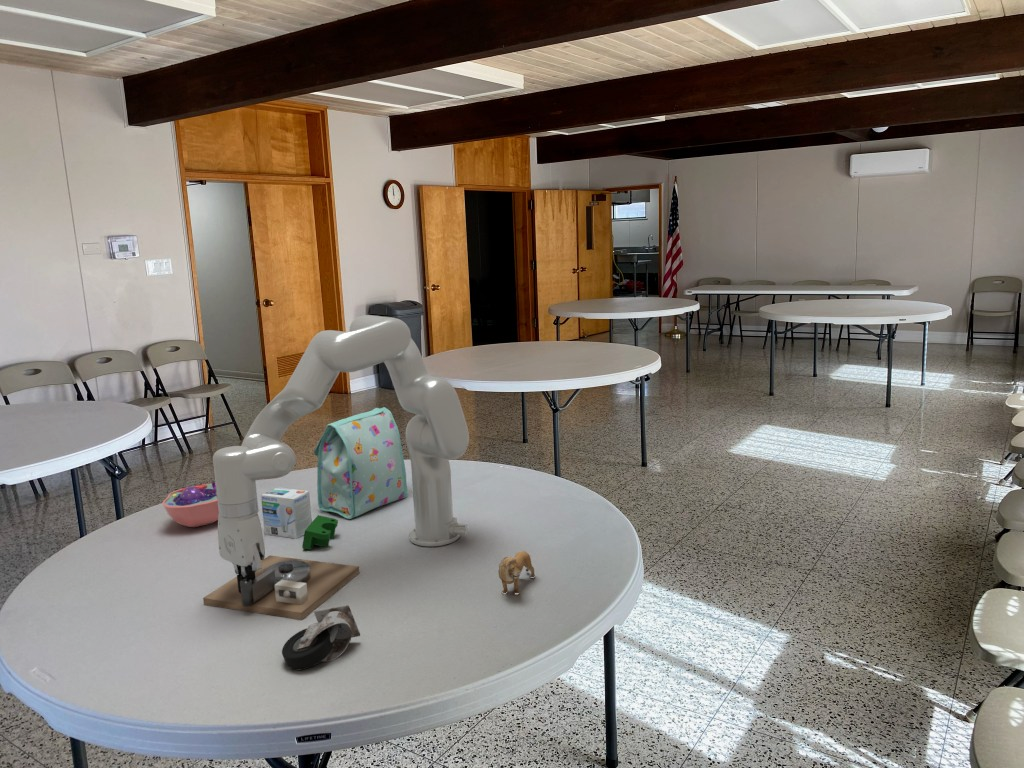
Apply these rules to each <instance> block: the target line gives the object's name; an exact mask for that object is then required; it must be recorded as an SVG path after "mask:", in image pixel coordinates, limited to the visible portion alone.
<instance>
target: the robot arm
mask: <svg viewBox="0 0 1024 768" xmlns="http://www.w3.org/2000/svg"><path fill="white" fill-rule="evenodd" d="M382 363H384V365H385V367H386V369H387V371H388V374H389V376H390V379H391V382H392V386H393V388H394V391H395V394H396V397H397V399H398V402H399V405H400V406H401V408H402V409H403V410H405V411H406V412H408V413H411V414H414V416H413V417H412V418H410V419H409V420H408V422H407V425H406V428H405V432H404V433H405V441H406V445H407V446H406V447H407V450H408V454H409V459H410V467H411V477H412V478H411V482H412V483H411V484H412V497H413V513H414V514H413V515H414V528H413V530H411V532H409V541H410V542H411V543H412V544H415V545H417V546H420V547H440V546H446V545H449V544H452V543H454V542H455V541H457V540H458V539H460V536H467V535H468V534H469V528H468V525H467V524H463V523H461V524H459V523H458V519H457V517H454V514H453V513H454V512H453V511H454V510H453V494H452V493H453V492H452V474H451V473H452V471H451V464H450V461H449V460H456V459H459V458H460V457H462V456H463V455H465V453H466V451H467V449H468V447H469V443H470V432H469V428H468V424H467V421H466V417H465V414H464V411H463V408H462V407H463V406H462V404H461V402H460V398H459V395H458V393H457V391H456V389H455V388H454V386H453V384H452V383H450V382H449V381H448V380H446V379H444V378H441V377H438V376H432V375H431V374H430V373H429V372H428V370H427V367H426V364H425V361H424V359H423V356H422V354H421V352H420V349H419V348H418V345H417V344H416V343H415V341H414V340H413V338H412V335H411V329H410V328H409V326H408V324H406V323H405V321H403V320H401V319H399V318H396V317H391V316H380V315H372V314H370V315H369V314H364V315H360V316H358V317H356V318H354V319H353V320H352V322H351V323H350V325H349V331H340V330H332V329H328V330H321V331H320V332H318V333H316V334H315V335H314V336H313V337H312V339H311V341H310V342H309V344H308V345H307V347H306V349H305V351H304V352H303V354H302V356H301V358H300V360H299V362H298V364H297V366H296V367H295V369H294V371H293V372H292V374H291V375H290V378H289V379H288V381H287V383H286V384H285V385H284V388H283V389H282V390H281V391H280V392H279V393H277V394H276V395H275V396H274V397H273V399H272V400H271V401H269V403H267V404H266V405H265V407H264V408H263V409H262V410H261V411H260V412H259V413H258V414H257V416H256V417H255V419H254V420H253V422H252V423H251V425H250V427H249V429H248V430H247V432H246V435H245V436H244V438H243V440H242V443H241V445H232V446H226V447H222V448H220V449H218V450H216V451H215V452H214V454H213V456H212V465H213V472H214V482H215V483H216V491H217V500H218V508H219V517H218V520H217V538H218V539H217V540H218V550H219V551H218V552H219V556H220V558H221V559H223V560H225V561H227V562H229V563H232V565H233V569H234V573H235V574H236V577H237V582H238V591H239V593H241V587H240V581H241V580H243V579H246V578H250V579H251V580H253V579H255V572H256V571H257V570H259V569H262V563H261V561H262V560H263V559H265V558H266V548H265V541H264V534H263V533H264V532H263V529H262V525H261V520H260V516H259V503H258V494H257V483H256V481H259V480H260V481H262V480H272V479H273V480H274V479H279V478H283V477H286V476H287V475H288V474H290V473H291V472H292V471H293V469H294V468H295V465H296V460H297V457H296V454H295V452H294V450H293V449H292V448H291V447H290V446H289V445H287V444H286V443H284V442H281V439H282V437H283V436H284V434H285V433H286V432H287V430H288V429H289V427H290V426H291V425H293V424H294V422H296V421H297V420H299V419H300V418H302V417H305V416H306V415H309V414H311V413H313V412H314V411H316V410H318V409H320V408H321V407H322V406H323V404H324V402H325V400H326V398H327V396H328V395H329V392H330V390H331V389H332V387H333V385H334V384H335V382H336V380H337V378H338V376H339V374H340V372H341V373H355V372H359V371H362V370H365V369H368V368H371V367H374V366H376V365H378V364H382Z"/></svg>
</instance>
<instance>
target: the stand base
mask: <svg viewBox="0 0 1024 768" xmlns="http://www.w3.org/2000/svg"><path fill="white" fill-rule="evenodd" d="M292 560H297V561H304V562H306V563H308V564H309V566H310V574H311V576H310V578H309V580H307V581H306V582H305V583H302V582H295V581H287V580H281V581H279V582H278V583H276V584H275V589H273V590H271V591H270V592H268V593H267V594H265V595H264V596H262V597H261V598H260V599H258V600H257V601H255V602H254V604H253V605H251V606H247V607H246V606H243V605H242V596H241V593H239V591H238V582H237V576H235V577H234V578H232V579H231V580H229V581H228V582H225V584H222V585H221V586H220V587H218V588H216V589H214V590H213V591H211V592H210V593H209V594H207V595H205V596H204V597H203V598H202V600H203V601H202V602H203V605H204V606H211V607H215V608H216V607H218V608H224V609H230V610H231V609H232V610H237V611H244V612H249V613H255V614H256V613H257V614H263V615H269V616H275V617H276V616H277V617H281V618H286V619H287V618H289V619H295V620H300V621H302V620H303V619H305V618H306V617H308V616H309V615H310V614H311V613H312V612H314V610H315V611H316V609H317V608H318V607H320V606H321V605H322V604H323V603H324V602H325V601H327V600H328V599H329V598H330V597H332V596H333V595H335V593H336V592H338V591H339V590H341V588H343V587H344V586H345V585H347V584H348V583H349V582H350V581H352V579H354V578H355V577H356V576H357V575H359V574H360V566H359V565H358V566H357V565H350V564H343V563H335V562H324V561H317V560H309V559H301V558H293V557H286V556H285V557H284V556H278V555H268V556H267V557H266V556H265V558H264V559H263V560H261V563H262V569H259V570H257V571H256V572H255V578H257V577H258V576H260V575H261V574H262V572H263V570H264V569H266V568H267V567H269V566H271V565H273V564H276V563H279V562H284V561H292Z"/></svg>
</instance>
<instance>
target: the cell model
mask: <svg viewBox="0 0 1024 768" xmlns="http://www.w3.org/2000/svg"><path fill="white" fill-rule="evenodd" d="M161 504H162V506H163V509H165V512H166V514H167V516H169V517H170V518H171V519H172V520H173V521H175V522H176V523H177V524H179V525H181V526H185V527H187V528H198V527H203V526H207V525H210V524H213V523H215V522H218V517H219V508H218V500H217V491H216V483H215V481H214V482H210V483H203V484H199V485H193V486H187V487H183V488H180V489H177V490H174V491H171V492H169V493H168V495H167V497H166V498H165V499H164V500H163V501H162V503H161Z"/></svg>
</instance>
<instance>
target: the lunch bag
mask: <svg viewBox="0 0 1024 768" xmlns="http://www.w3.org/2000/svg"><path fill="white" fill-rule="evenodd" d="M402 447H403V446H402V441H401V435H400V431H399V427H398V425H397V423H396V421H395V418H394V416H393V414H392V411H390V410H389V409H388V408H386V407H385V406H383V407H381V408H379V407H375V408H373V409H372V410H370V411H366V412H362V413H358V414H355V415H352V416H349V417H346V418H343V419H339V420H337V421H334V422H332V423H328V424H327V425H326V427H325V428H324V431H323V433H322V435H321V437H320V438H319V440H318V442H317V444H316V446H315V449H314V450H313V453H314V454H313V455H314V456H316V457H317V472H316V473H317V475H316V476H317V480H316V481H317V483H316V486H317V489H316V491H317V505H318V508H319V510H321V511H323V512H331V513H335V514H337V515H340V516H341V517H343V518H345V519H347V520H348V519H349V520H351V519H353V518H356V517H359V516H361V515H363V514H365V513H367V512H369V511H372V510H374V509H376V508H379V507H382V506H384V505H388V504H390V503H391V504H392V503H393V502H396V501H399V500H403V499H406V498H407V496H408V488H407V486H408V485H407V484H408V483H407V472H406V471H407V470H406V465H405V459H404V452H403V448H402Z"/></svg>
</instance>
